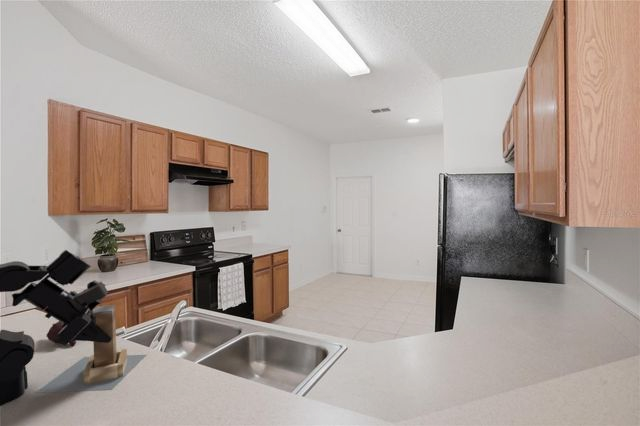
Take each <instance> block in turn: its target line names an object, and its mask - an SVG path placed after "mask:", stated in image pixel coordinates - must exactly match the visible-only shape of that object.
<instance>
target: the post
mask: <svg viewBox="0 0 640 426" xmlns="http://www.w3.org/2000/svg"><path fill="white" fill-rule="evenodd" d="M92 315H93V317H94V316H95V317H96V325H97V326H98V327H100V328H101V329H102V330H103V331H104V332H105V333H106V334H107V335H108V336H109V337H110V338H111V341H110V342H109V343H103V342H93V341H92V342H93V344H92V345H93V355H94V368H97V367H101V366H106V365H111V364H115V363H116V360H117V355H116V351H117V331H116V329H117V327H116V303H114V304H107V305H102V306H100V305H98V306H96V307H95V310H94V311H93V313H92Z"/></svg>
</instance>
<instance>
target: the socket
mask: <svg viewBox="0 0 640 426" xmlns="http://www.w3.org/2000/svg"><path fill="white" fill-rule="evenodd" d="M116 355H117V360H116V363H115V364H111V365H106V366H101V367H97V368H94V354H93V355H92V354H91V356H89V357H90V359H89V361H88V363H87V366H86V368H85V370H84V372H83V376H84V385H86V384H90V383H95V382H99V381H103V380H108V379H112V378H117V377H121V376H124V371H125V366H126V362H127V355H128V352H127V348H123V349H118V350H117V349H116Z"/></svg>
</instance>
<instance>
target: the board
mask: <svg viewBox="0 0 640 426" xmlns="http://www.w3.org/2000/svg"><path fill="white" fill-rule="evenodd" d="M90 357H91V356H84V357H82V358H81V359H80V360H78V361H77V362H75V363H74V364H73V365H71V366H70V367H68V368H67V369H66V370H64V371H63V372H62V373H60V374H59V375H57V376H56V377H55V378H53V379H52V380H50V381H49V382H48V383H46V384H45V385H43V386H42V387H41V388H39V389H38V390H37V391H35V392H34V394H42V393H43V394H44V393H46V394H47V393H65V392H67V393H69V392H89V391H90V392H91V391H92V392H93V391H95V392H96V391H113V389H114V388H115V387H116V386H118V384H119V383H121V382H122V380H124V378H125V377H126V376H128V374H130V373H131V371H133V370H134V369H135V368H136V366H138V364H139V363H140V362H141V361H142V360H144V358H146V357H147V354H127V362H126V366H125V371H124V376H121V377H117V378H112V379H108V380H103V381H99V382H95V383H90V384H86V385H84V376H83V372H84V370H85V368H86V366H87V363H88V361H89V359H90Z"/></svg>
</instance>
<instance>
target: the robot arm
mask: <svg viewBox="0 0 640 426" xmlns="http://www.w3.org/2000/svg"><path fill="white" fill-rule="evenodd" d="M91 267H92V265H90V264H89V263H88V262H87V261H86V260H84V259H82V258H81V257H80V256H78V255H76V254H74V253H72V252H70V251H69V250H67V249H64V250H63V251H62V252H61V253H60V254H59V256H58V257H56V258H55V259H54V260H52V262H51V263H48V265H28V264H27V263H25V262H23V261H13V260H12V261H8V262H5V263H1V264H0V293H6V292H7V293H8V292H9V293H10V292H14V293H13V294H11V297H12V304H11V305H12V307H16V306H18V305H20V304H21V303H22V302H23V301H24V300H25V302H28V303H29V304H31V305H33V306H34V307H36V308H37V309H38V310H40V311H43V312H44V313H46V314H45V315H44V317H45V318H47V319H48V320H49V319H50V318H52V317H53V318H54V319H55V320H57V321H58V322H59V321H60V322H62V323H63V325H62V327H63V329H62V330H61V331H60V332H59V334H58V335H57V341H58V342H60V343H59V344H62V345H64V346H67V345H68V344H69V342H70V341H75V340H76V342H77V341H78V342H103V343H109V342H110V341H111V338H110V337H109V336H108V335H107V334H106V333H105V332H104V331H103V330H102V329H101V328H100V327H98V326H97V325H96V317H95V316H94V317H93V315H92V313H93V311H94V310H95V308H96V307H98V306H103V305H102V304H101V303H102V301H103V299H104V298H106V296H107V295H108V294H109V291H108V289H107V288H106V284H105V283H103V282H102V281H98V280H95V279H94V280H92V281H90V282H88V283H87V284H86V285H87V286H86V287H87V288H86V289H84V290H83V291H80V292H76V291H74V290H73V291H72V290H71V291H70V292H68V291H67V290H65V289H64V288H62V287H61V286H68V285H73V284H74V283H75V282H76V281H77V280H78V279H79V278H80V277H81V276H82V275H84V274H85V273H86V272H87V271H89V269H91ZM50 279H52V280H50ZM53 281H54V282H53ZM35 282H37V283H35ZM55 282H56V283H55ZM57 283H58V284H59V285H58V284H57ZM60 285H61V286H60ZM20 290H21V291H20ZM17 291H20V292H17ZM35 345H36V344H35V340H34V338H33V337H32V336H31V335H29V334H25V331H24V330H22V331H11V330H6V329H1V330H0V407H2V406H4V405H5V404H7V403H10V402H13V401H16V400H17V399H19V398H20V397H22V396H23V395H24V394H25V392H26V390H27V389H28V387H29V385H28V371H27V369H26V367H27V365H28V364H29V363H30V362H31V361H32V360H33V358H34V355H35Z"/></svg>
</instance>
